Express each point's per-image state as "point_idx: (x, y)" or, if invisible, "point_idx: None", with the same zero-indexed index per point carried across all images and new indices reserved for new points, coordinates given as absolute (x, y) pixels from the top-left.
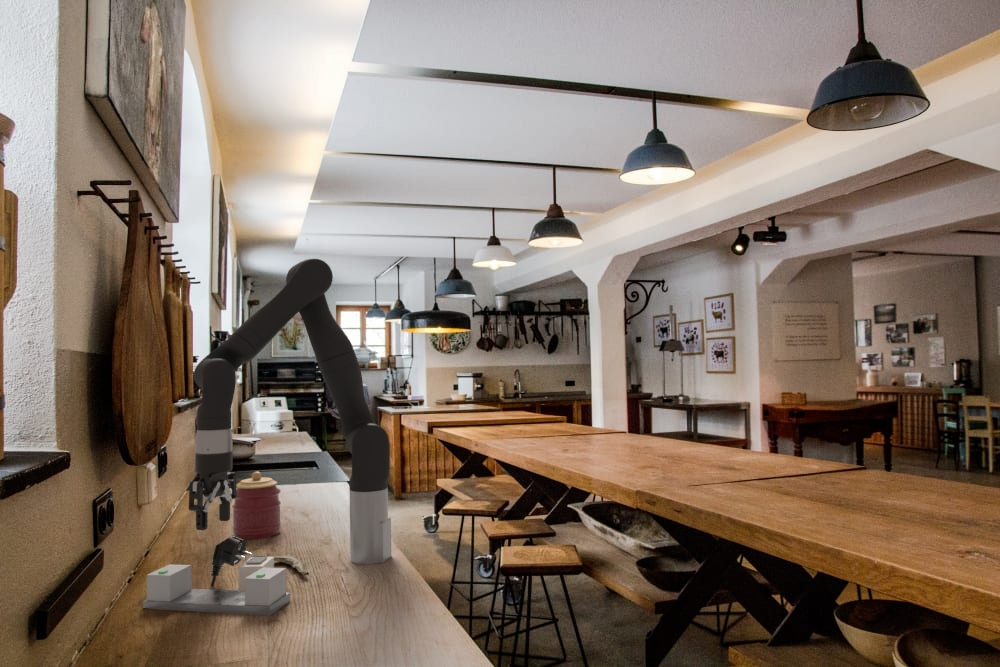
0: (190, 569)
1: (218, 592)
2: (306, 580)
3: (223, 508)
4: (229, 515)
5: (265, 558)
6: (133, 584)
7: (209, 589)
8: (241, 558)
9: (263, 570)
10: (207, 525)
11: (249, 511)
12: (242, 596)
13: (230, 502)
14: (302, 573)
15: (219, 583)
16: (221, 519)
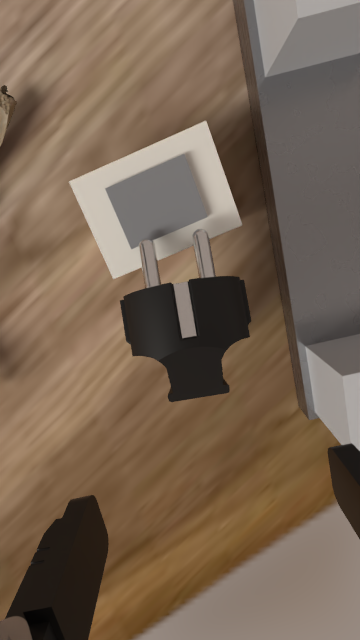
0: (340, 368)
1: (306, 241)
2: (18, 108)
3: (78, 603)
4: (67, 519)
5: (122, 181)
6: (240, 563)
7: (289, 293)
8: (209, 243)
9: None
10: (337, 457)
11: None
12: (321, 123)
13: (14, 624)
14: (8, 120)
15: (156, 370)
16: (103, 537)
